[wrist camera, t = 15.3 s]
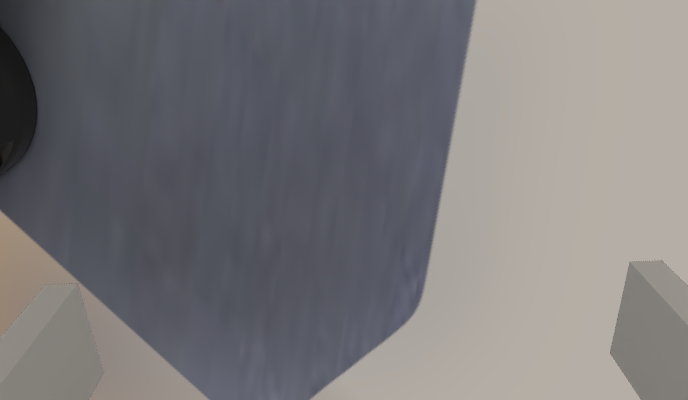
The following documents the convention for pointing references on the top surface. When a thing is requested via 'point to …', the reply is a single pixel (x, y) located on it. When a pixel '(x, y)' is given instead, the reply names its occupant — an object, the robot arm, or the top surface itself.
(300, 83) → the top surface
